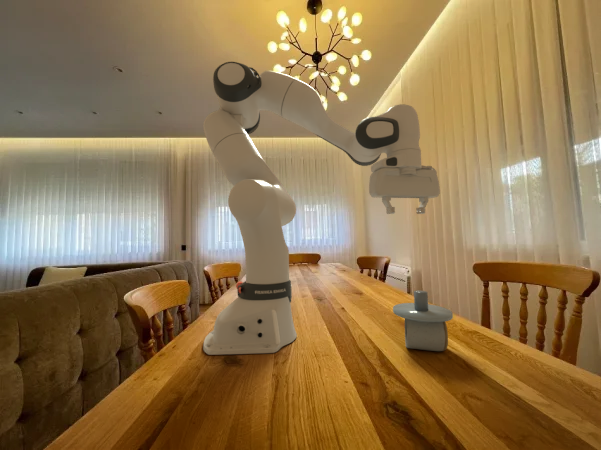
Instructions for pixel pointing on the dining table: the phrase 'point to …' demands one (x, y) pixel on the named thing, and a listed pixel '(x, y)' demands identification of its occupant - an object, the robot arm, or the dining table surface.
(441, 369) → the dining table surface
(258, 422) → the dining table surface
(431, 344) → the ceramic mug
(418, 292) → the lid
